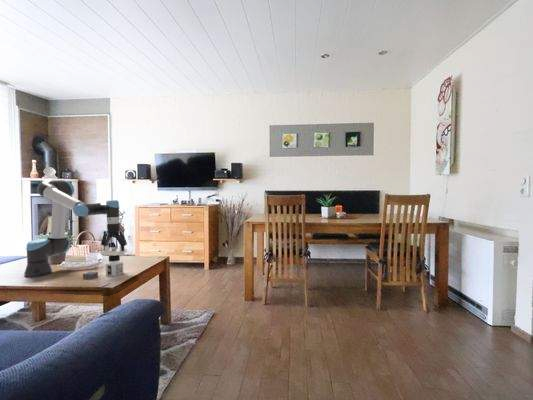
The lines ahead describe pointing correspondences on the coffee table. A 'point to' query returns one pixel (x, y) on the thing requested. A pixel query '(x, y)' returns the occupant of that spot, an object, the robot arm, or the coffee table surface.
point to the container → (114, 266)
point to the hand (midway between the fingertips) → (114, 255)
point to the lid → (112, 252)
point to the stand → (90, 275)
